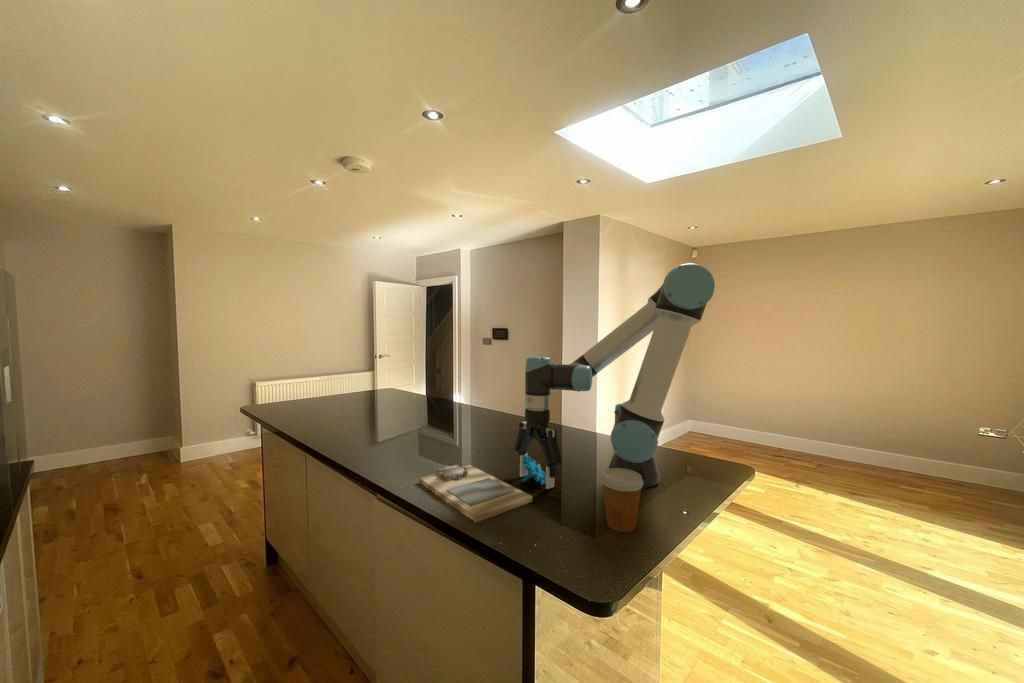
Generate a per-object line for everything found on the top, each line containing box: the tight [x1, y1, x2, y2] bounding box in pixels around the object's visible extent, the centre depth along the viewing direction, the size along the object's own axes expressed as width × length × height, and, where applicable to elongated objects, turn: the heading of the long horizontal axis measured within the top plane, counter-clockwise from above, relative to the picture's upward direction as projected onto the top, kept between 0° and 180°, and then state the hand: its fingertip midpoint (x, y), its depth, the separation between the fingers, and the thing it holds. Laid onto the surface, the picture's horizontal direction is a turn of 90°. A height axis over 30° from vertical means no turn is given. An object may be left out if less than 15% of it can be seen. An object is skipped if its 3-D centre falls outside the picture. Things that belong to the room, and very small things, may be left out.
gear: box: [522, 455, 546, 486], centre depth 114 cm, size 11×6×10 cm
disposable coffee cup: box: [600, 468, 644, 533], centre depth 88 cm, size 10×10×12 cm
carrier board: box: [418, 464, 533, 523], centre depth 106 cm, size 31×18×3 cm, turn 39°
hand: (536, 481), depth 114 cm, fingers open, 11 cm apart
